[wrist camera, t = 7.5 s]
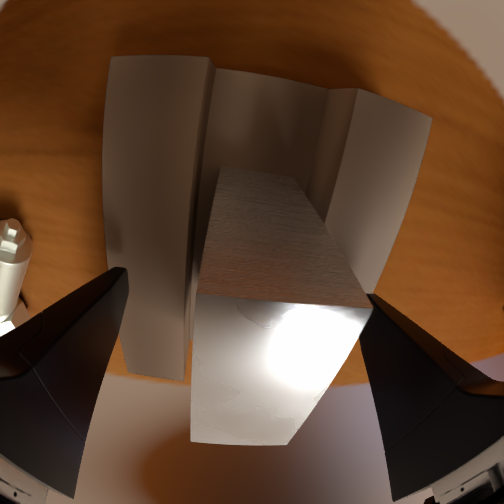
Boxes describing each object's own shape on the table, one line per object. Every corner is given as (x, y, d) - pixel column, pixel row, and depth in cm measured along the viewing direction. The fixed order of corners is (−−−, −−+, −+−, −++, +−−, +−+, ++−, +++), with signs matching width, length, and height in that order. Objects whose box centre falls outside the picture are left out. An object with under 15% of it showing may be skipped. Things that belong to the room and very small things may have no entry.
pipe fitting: (31, 194, 12) (-33, 213, 11) (-8, 224, 9) (-66, 241, 8) (72, 308, 16) (8, 309, 15) (52, 351, 13) (-14, 344, 12)
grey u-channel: (386, 109, 10) (432, 118, 7) (309, 342, 17) (321, 387, 14) (145, 66, 9) (111, 56, 6) (141, 326, 16) (128, 372, 13)
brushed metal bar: (293, 177, 12) (374, 308, 5) (265, 293, 14) (286, 444, 8) (220, 166, 11) (195, 293, 4) (206, 287, 14) (190, 441, 7)
